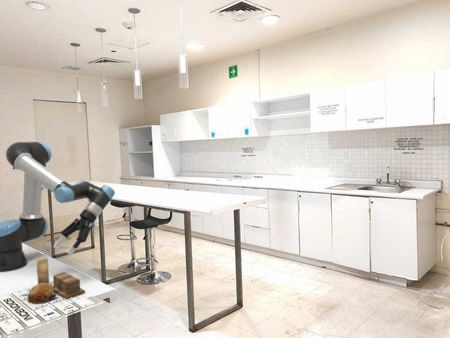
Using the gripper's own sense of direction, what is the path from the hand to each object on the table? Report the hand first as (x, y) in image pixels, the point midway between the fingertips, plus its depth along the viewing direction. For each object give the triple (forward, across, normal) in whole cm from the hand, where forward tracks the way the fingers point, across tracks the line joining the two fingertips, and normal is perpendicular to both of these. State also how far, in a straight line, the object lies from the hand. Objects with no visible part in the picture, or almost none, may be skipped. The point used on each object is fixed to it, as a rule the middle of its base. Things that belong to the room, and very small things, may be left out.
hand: (61, 251), depth 159 cm
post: (+16, +1, -4) cm, 16 cm away
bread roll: (+20, -12, 0) cm, 24 cm away
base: (+13, -13, -6) cm, 20 cm away
